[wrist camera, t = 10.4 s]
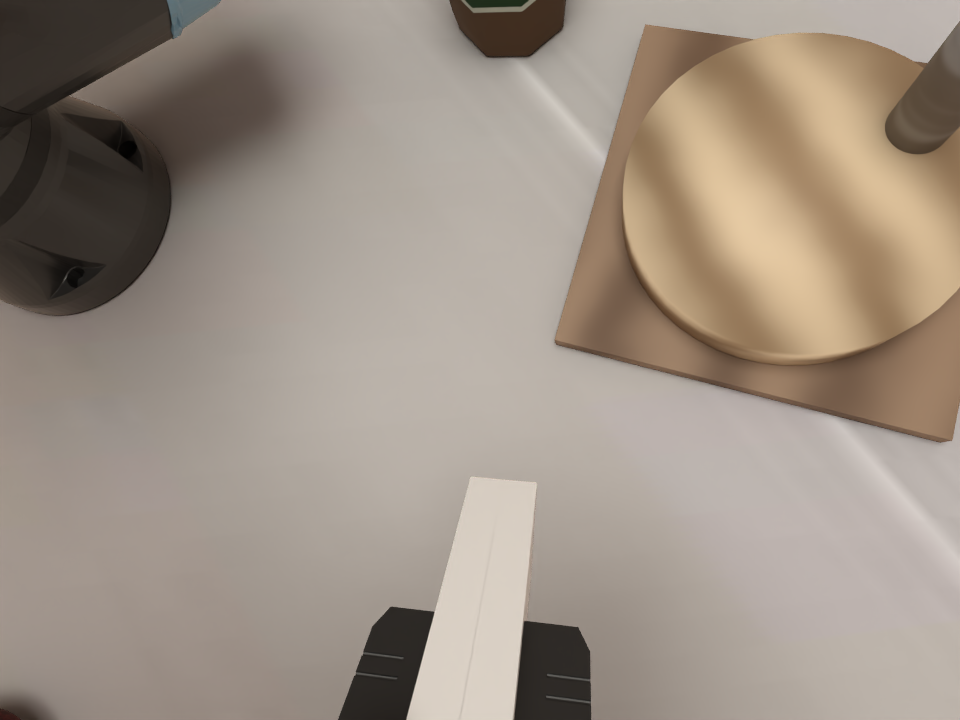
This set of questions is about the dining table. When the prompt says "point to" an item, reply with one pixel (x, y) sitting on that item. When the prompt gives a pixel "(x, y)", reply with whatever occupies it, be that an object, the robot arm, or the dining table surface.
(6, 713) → the apple
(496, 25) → the beer bottle
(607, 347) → the dial base
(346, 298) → the dining table surface
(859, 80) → the cam dial
